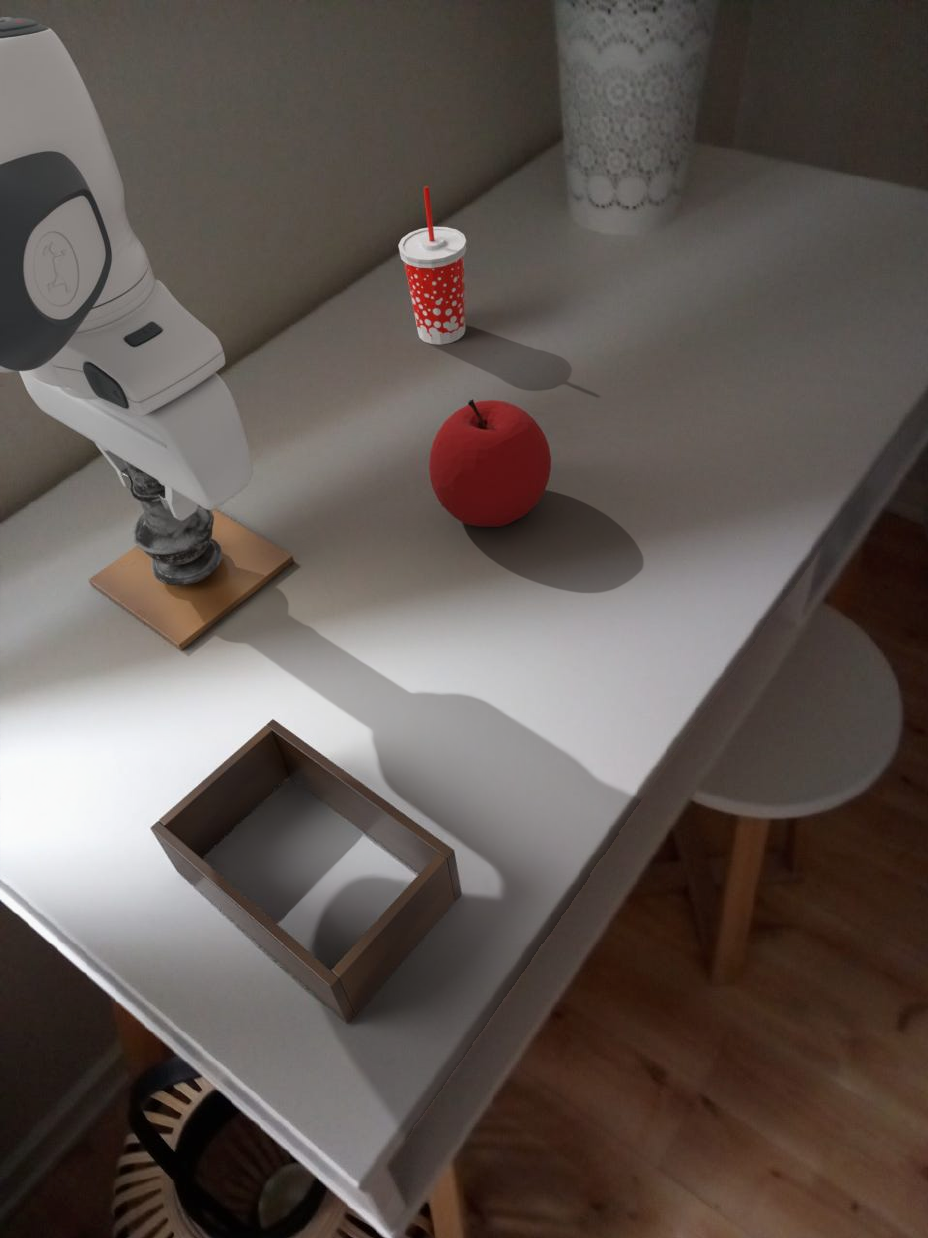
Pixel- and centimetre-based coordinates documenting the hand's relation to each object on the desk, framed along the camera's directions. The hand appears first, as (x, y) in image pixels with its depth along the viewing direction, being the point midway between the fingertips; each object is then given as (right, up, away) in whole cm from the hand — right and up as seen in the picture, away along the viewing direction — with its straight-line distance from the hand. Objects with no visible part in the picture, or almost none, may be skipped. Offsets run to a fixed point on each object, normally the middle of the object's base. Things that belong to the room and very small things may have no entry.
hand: (161, 498), depth 68 cm
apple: (+23, 0, +8) cm, 25 cm away
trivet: (+1, -5, +6) cm, 8 cm away
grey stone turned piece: (+1, -4, +5) cm, 6 cm away
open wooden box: (+13, -23, -12) cm, 29 cm away
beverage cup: (+19, +19, +26) cm, 37 cm away
